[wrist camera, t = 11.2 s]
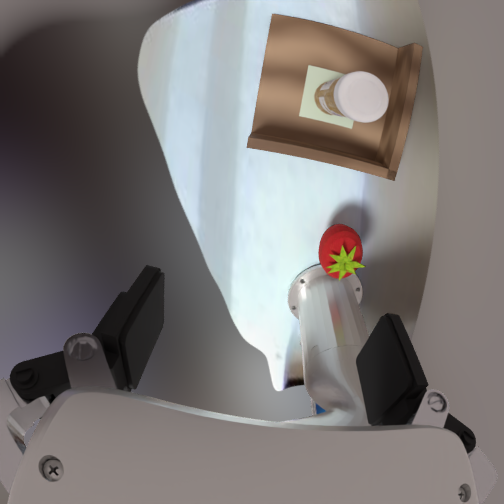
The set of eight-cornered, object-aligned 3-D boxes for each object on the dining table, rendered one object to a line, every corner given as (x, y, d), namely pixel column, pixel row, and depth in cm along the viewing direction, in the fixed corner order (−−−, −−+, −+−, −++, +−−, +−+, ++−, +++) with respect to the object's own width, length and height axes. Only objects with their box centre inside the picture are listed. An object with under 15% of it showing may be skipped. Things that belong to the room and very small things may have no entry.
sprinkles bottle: (314, 114, 32) (339, 121, 20) (312, 80, 30) (336, 68, 18) (349, 115, 32) (390, 125, 20) (348, 82, 29) (389, 73, 18)
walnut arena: (379, 169, 35) (394, 180, 31) (250, 141, 35) (246, 147, 30) (403, 52, 26) (422, 46, 22) (272, 15, 26) (272, 1, 21)
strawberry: (353, 209, 39) (375, 242, 30) (350, 255, 42) (367, 295, 34) (313, 211, 39) (324, 244, 31) (313, 257, 43) (322, 298, 34)
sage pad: (351, 128, 33) (352, 128, 32) (298, 116, 32) (299, 116, 32) (361, 79, 29) (362, 79, 29) (308, 65, 29) (308, 65, 29)
